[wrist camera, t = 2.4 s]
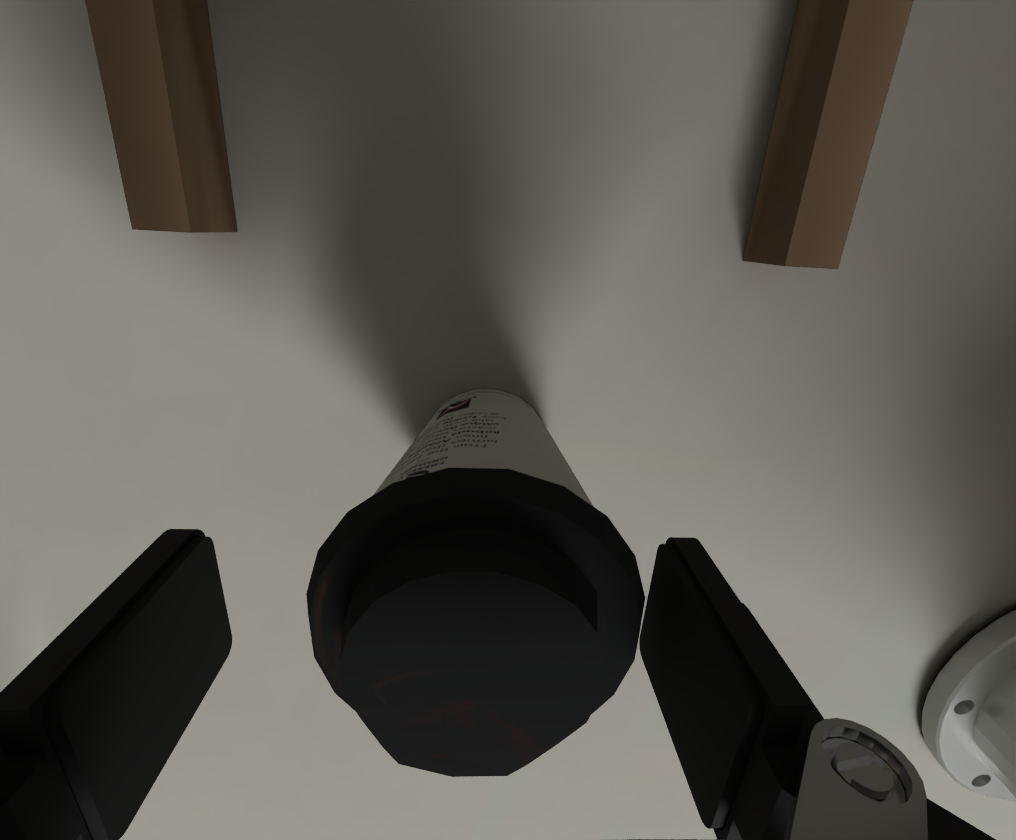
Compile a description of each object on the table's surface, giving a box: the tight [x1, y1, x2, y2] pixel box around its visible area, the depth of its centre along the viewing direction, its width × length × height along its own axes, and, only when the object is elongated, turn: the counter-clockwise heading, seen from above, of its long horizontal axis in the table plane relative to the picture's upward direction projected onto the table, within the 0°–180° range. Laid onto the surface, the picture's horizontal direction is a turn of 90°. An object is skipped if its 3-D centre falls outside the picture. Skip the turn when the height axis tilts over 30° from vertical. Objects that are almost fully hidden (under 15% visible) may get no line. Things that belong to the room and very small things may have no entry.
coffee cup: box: [307, 389, 645, 777], centre depth 14 cm, size 7×7×10 cm
